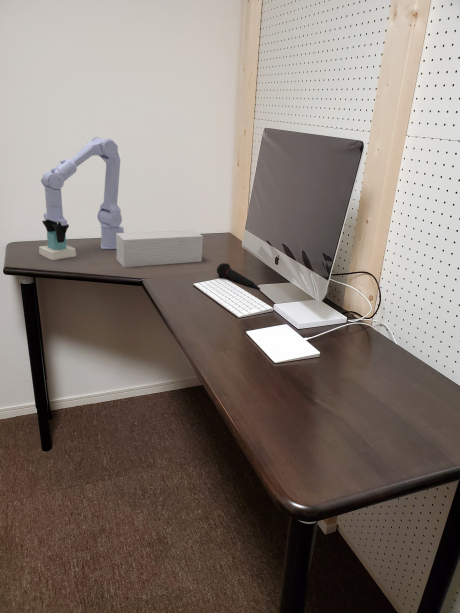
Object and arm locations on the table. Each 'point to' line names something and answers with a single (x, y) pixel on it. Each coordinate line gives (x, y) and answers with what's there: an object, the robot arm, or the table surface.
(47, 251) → the cream plinth
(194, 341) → the table surface
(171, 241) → the stack of papers
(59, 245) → the teal block
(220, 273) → the microphone
